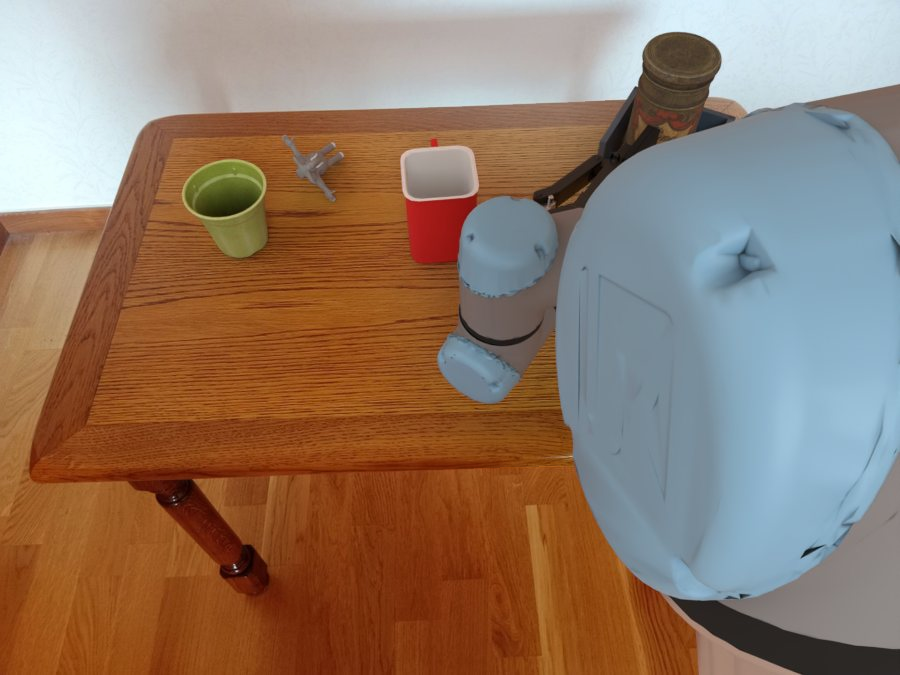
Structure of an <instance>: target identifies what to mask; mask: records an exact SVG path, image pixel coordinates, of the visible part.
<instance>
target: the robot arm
mask: <svg viewBox="0 0 900 675" xmlns="http://www.w3.org/2000/svg"><path fill="white" fill-rule="evenodd" d="M659 133H660V129H658V128H655V127H653V126H650V125H647V126H646V128H645V129H644V130H643V132H642V133H641V134H640V136H639V137H638V138H637V139H636V141H635V142H634V143H633V145H629V144H627V143H625V144H622V146H621V147H620V149H619V150H618V151H617V152H612V153H611V155H610V159H603V158H602V156H601V155H598V154H597V153H596V154H592V156H590V157H588V158H587V159H585V160H584V161H582V163H580V164H579V165H578V166H576V167H575V168H573V169H572V170H570V171H569V172H568V173H567V174H565V175H564V176H562V177H561V178H560V179H559V180H556V181H555V183H553V184H551V185H549V186H546V187H544V188H541V189H537V190H535V191H533V195H532V199H530V198H527V197H522V198H516V197H512V196H511V195H501V196H495V197H493V198H492V197H491V198H489V199H487V200H485V201H483V202H481V203H480V204H477V207H476V208H474V209H473V210H472V211H471V212H470V214H469V215H468V216H467V218H466V220H465V222H464V224H463V227H462V231H461V237H460V243H459V253H458V261H456V268H457V272H458V290H459V304H458V308H457V310H458V311H457V312H458V313H457V314H458V316H457V317H458V319H457V320H458V323H457V326H456V327H455V329H454V330H453V331H452V332H451V333H448V334H447V336H446V339H445V341H444V342H443V344H442V346H441V348H440V349H439V351H438V353H437V356H436V362H437V366H438V369H439V371H440V373H441V375H442V377H443V378H444V379H445V381H447V382H448V383H449V384H450V385H451V386H452V387H453V388H454V389H455V390H456V391H458V392H459V393H461V394H462V395H463V396H465V397H467V398H469V399H471V400H473V401H475V402H478V403H481V404H486V405H487V404H488V405H493V404H494V405H495V404H498V403H500V402H502V401H503V400H505V398H507V396H508V395H509V393H510V392H511V391H512V390H513V389H514V388H515V386H516V385H517V384H518V383H520V382H521V381H522V379H523V376H524V374H525V373H526V371H527V369H528V368H529V367H530V366H531V364H532V362H533V361H534V360H535V358H536V357H537V355H538V354H539V352H540V351H541V350H542V348H543V347H544V345H545V344H546V342H547V341H548V339H549V338H550V337H551V335H552V334H553V332H554V331H555V340H554V342H555V343H554V345H555V347H554V348H555V364H556V365H555V366H556V376H557V386H558V387H557V388H558V394H559V401H560V408H561V414H562V419H563V423H564V424H565V426H566V427H569V429H570V431H571V436H572V453H571V455H572V460H573V464H574V468H575V472H576V475H577V478H578V481H579V483H580V486H581V489H582V491H583V494H584V497H585V499H586V502H587V505H588V507H589V509H590V512H591V513H592V516H593V517H594V520H595V521H596V524H597V526H598V527H599V529H600V531H601V532H602V535H603V536H604V537H605V539H606V542H607V543H608V544H609V546H610V547H611V549H612V550H613V552H614V553H615V554H616V556H617V557H618V558H619V560H620V561H621V563H622V564H623V565H624V566H625V567H626V568H627V569H628V570H629V571H630V572H631V573H632V574H633V575H634V576H635V577H636V578H637V579H638V580H639V581H641V582H642V583H643V584H645V585H647V586H648V587H650V588H651V589H653V590H655V591H658V592H659V593H660V595H661V596H662V597H663V599H664V600H665V601H666V602H667V603H668V605H669V606H670V608H672V609H673V610H674V612H675V613H677V615H679V617H681V618H682V619H683V620H684V621H685V622H686V623H687V624H688V625H689V626H690V627H691V628H693V629H694V630H695V641H696V642H695V643H696V655H697V670H698V675H900V83H898V84H894V85H893V84H892V85H888V86H883V87H882V86H881V87H876V88H872V89H868V90H867V89H866V90H862V91H857V92H852V93H848V94H841V95H836V96H832V97H831V96H830V97H826V98H821V99H816V100H812V101H806V102H795V101H794V102H793V103H790V104H787V105H783V106H779V107H774V108H772V107H763V108H758V109H755V110H753V111H750V112H749V113H747V115H745V116H743V117H740V118H738V119H735V121H733V122H730V123H727V124H724V125H720V126H717V127H714V128H710V129H707V130H704V131H700V132H697V133H693V134H690V135H687V136H683V137H680V138H677V139H673V140H670V141H667V142H663V143H660V144H657V145H656V143H657V140H658V136H659ZM586 186H587V187H586ZM584 188H586V189H585V190H584V191H582V190H583V189H584ZM581 191H582V192H581ZM578 192H581V193H580V194H579V195H578V197H577V198H576V199H575V200H574V202H571V203H568V204H567V203H566V204H564V203H565V202H567V201H568V200H569V199H570V198H572V197H573V196H574V195H577V193H578ZM563 204H564V205H563Z"/></svg>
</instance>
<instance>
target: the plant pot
mask: <svg viewBox="0 0 900 675" xmlns="http://www.w3.org/2000/svg"><path fill="white" fill-rule="evenodd" d="M267 187H268V184H267V178H266V175H265V174H264V172H263V170H261V168H260V167H259V166H257V165H256V164H254V163H252V162H250V161H247V160H243V159H236V158H227V159H220V160H216V161H213V162H209V163H207V164H204V165H203V166H201V167H199V168H198V169H197V170H195V171H194V172H193V173H192V174H191V175H190V176H189V177H188V178H187V180H186V181H185V182H184V184H183V187H182V191H181V199H182V202H183V204H184V206H185V208H186V209H187V211H188V212H190V214H192V215H193V216H195V217H196V219H198V220H199V221H201V223H202V225H203V226H204V228H205V229H206V231H207V232H208V233H209V235H210V237H211V238H212V239H213V241H214V243H215V245H217V248H218V249H219V250H220V251H221V253H223V254H224V255H226V256H227V257H231V258H236V259H242V258H243V259H244V258H248V257H251V256H252V255H253V254H255V253H257V252H258V251H261V250H262V249H264V247H265V246H266V244H267V243H268V240H269V230H268V222H267V214H266V206H265V197H266V193H267Z"/></svg>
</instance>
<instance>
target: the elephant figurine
mask: <svg viewBox="0 0 900 675" xmlns="http://www.w3.org/2000/svg"><path fill="white" fill-rule="evenodd" d="M281 138H282V141H283V142H284V144H285V146H286V147H287V148H289V149H290V150H291V151H292V153H293V156H292V161H293V162H294V164H296V165H297V168H296V169H295V174H296V176H297V177H298V178H299V179H301V180H304V179H305V178H307V180H308V181H309V183H311V185H315V186H317V187H318V188H319V189H321V190H322V191H323V193H324V195H325V197H326V198H327V199H329V201H330V202H331V203H334V202H335V201H336V200H337V198H336V197H335V196H334V194H333V193H336V192H337V191H336V190H331V189H330V188H329V187H328V186H327V185H326V183H325V182H324V180H323V179H322V176H323V175H325V174H326V172H327V170H328V169H329V168H331V167H332V166H334V165H335V164H337V163H339V162H341V161H342V160H343V159H344V158H345V155H344V152H343V151H338V152H337V153H335V154H334V155H332V156H330V157H329V158H326V155H328V154H330V153H331V152H333V151H335V150H336V147H337V145H336V142H334V141H331V142H329V143H327V144H326V145H325V146H324V147H322V148H321V149H318V150H316V151H315V152H309V153H307V154H306V156H305V155H304V154H303V153H302V152H300V150H299V149H298V148H297V147H296V145H295V142H294V140H295V136H292V137H291V139H290V138H289V136H288V134H286V133H285V134H283V135H282V137H281Z"/></svg>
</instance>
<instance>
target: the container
mask: <svg viewBox="0 0 900 675" xmlns="http://www.w3.org/2000/svg"><path fill="white" fill-rule="evenodd" d="M722 58H723V57H722V53H721V51H720V49H719V48H718V46H717V45H716V44H715V43H714V42H713V41H711V40H709V39H707V38H705V37H704V36H701V35H699V34H696V33H693V32H692V33H691V32H686V31H668V32H663V33H661V34H658V35H656V36H654V37H652V38H651V39H650V40H649V41H648V42H646V44H645V46H644V48H643V50H642V54H641V60H642V64H641V68H642V70H641V74H640V75H639V77H638V81H637V87H638V89H637V93H636V96H635V100H634V105H633V109H632V113H631V117H630V121H629V125H628V129H627V131H626V133H625V135H624V138H623V144H625V143H627V144H629V145H633V143H634V142H635V141H636V139H637V138H638V137H639V136H640V134H641V133H642V132H643V130H644V129H645V128H646V126H647V125H650V126H653V127H655V128H658V129H660V133H659V136H658V140H657V143H656V145H657V144H660V143H663V142H667V141H670V140H673V139H677V138H680V137H683V136H687V135H690V134H693V133H695V131H696V128H697V125H698V122H699V119H700V116H701V114H702V110H703V108H704V107H705V103H706V101H707V100H708V98H709V96H710V87H711V84H712V83H713V81H714V80H715V77H716V76H717V74H718V73H719V71H720V70H721V67H722V62H723V60H722ZM623 144H622V145H623Z"/></svg>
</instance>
